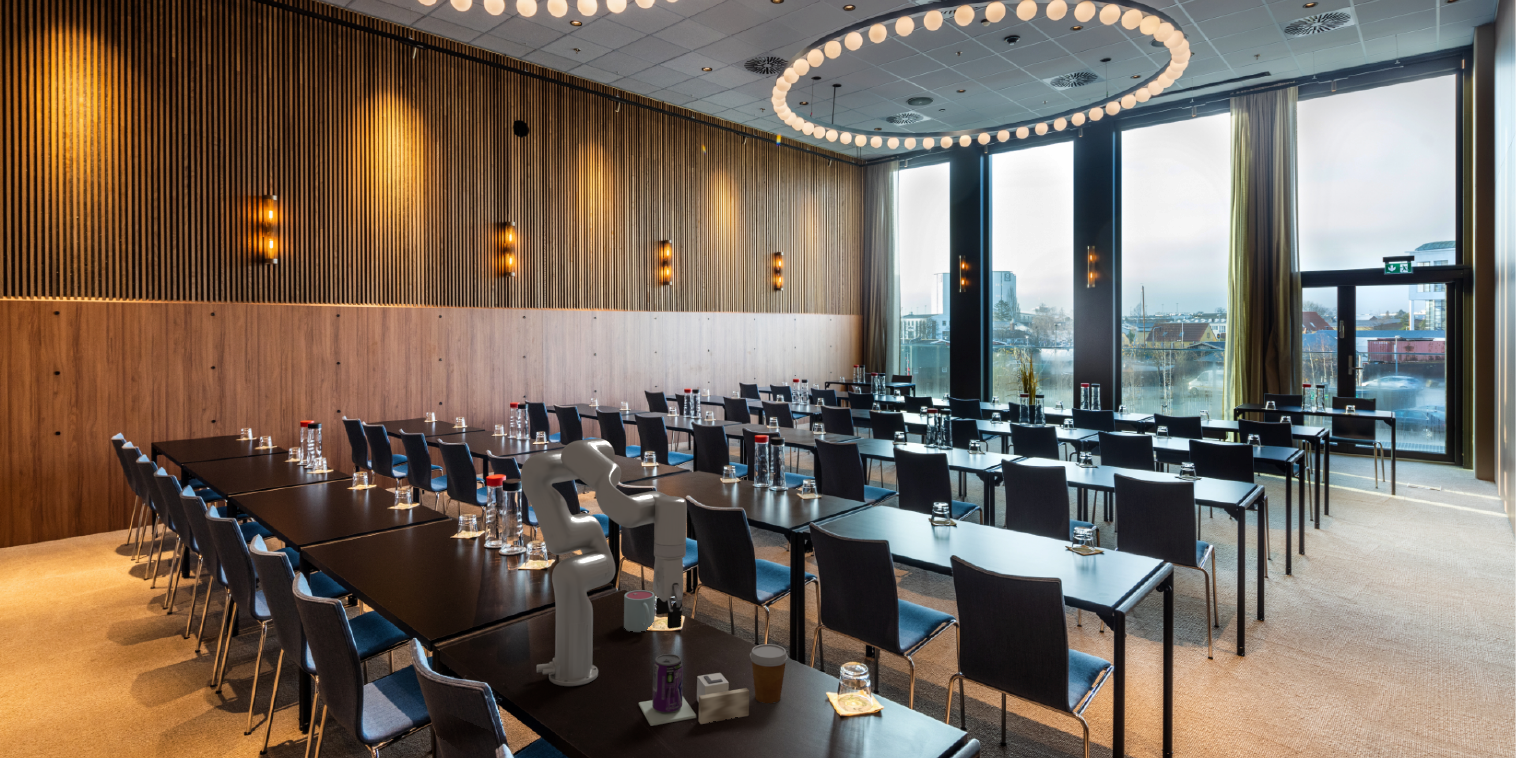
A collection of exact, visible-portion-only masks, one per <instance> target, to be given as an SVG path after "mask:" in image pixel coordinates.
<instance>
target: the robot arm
mask: <svg viewBox="0 0 1516 758" xmlns="http://www.w3.org/2000/svg"><path fill="white" fill-rule="evenodd" d="M615 457H616V454H615V449H614V447H613V445H612V444H611V443H610V442H609V441H607V440H605V439H603V438H590V439H589V438H588V439H582V440H581V439H579V440H574V441H572V442H570V443H568V444H567V445H565V447H563V449H562V450H554V451H546V452H540V453H537V454H534V455H532V456H530V457H528V458H527V459H526V460H525V461H524V463H523V464H522V467H521V469H520V470H521V471H520V483H521V484H520V485H521V488H522V490H523V493H524V495H525V497H526V498H527V500H528V502H529V504H530V506H531V507H532V510H533V513H534V516H535V517H536V518H535V519H536V521H537V523H538V526H539V529H540V532H541V534H542V538H543V540H544V542H545V546H546V547H547V549H548V551H549V552H550V553H551V554H553V555H556V556H562V555H567V554H570V553H573V552H577V551H578V552H579V551H580V552H581V554H576V555H574V556H570V557H566V558H564V559H562V560H561V561H560V562H558V563H556V565H555V566H554V568H553V569H552V573H551V582H552V587H553V591H554V600H555V645H554V646H555V653H554V654H555V655H554V657H553V658H552V661H548V663H542V664H541V663H540V664H539V663H538V664H536V667H535V669H536V673H542V676H543V675H548V679H549V682H551V683H553V684H554V685H558V686H561V687H563V686H564V687H576V686H583V685H586V684H589V683H590V682H592V681H594V680H596V679H597V677H598V676H599V668H598V667H597V666H596V665H594V664H593V654H594V653H593V651H594V649H593V644H594V643H593V640H594V638H593V637H594V636H593V635H594V633H593V632H594V610H593V609H594V608H593V604H592V601H591V600H590V598H589V597H588V594H587V592H589V591H590V590H592V589H593V590H594V589H595V588H600V587H601V586H605V585H608V583H610V582H612V580H613V579H614V577H615V574H616V563H615V560H614V556H613V554H612V552H611V549H610V546H609V543H608V540H607V538H606V536H605V535H606V534H605V532H604V529H603V527H602V525H601V524H600V522H599V520H598V518H596V517H595V516H594V515H592V514H591V513H586V512H585V513H583V512H582V513H577V514H572V512H570V510H569V506H568V503H567V501H566V499H565V497H564V496H563V495H562V494H561V493H560V492H559V491H558V490H557V489H556V488H555V487H553V484H556V483H557V484H558V483H564V482H568V481H574V480H580V481H582V482H583V483H584V484H585V485H587V486H588V487H589V488H591V489H592V490H593V491H595V499H596V502H597V504H598V506H599V509H600V510H601V511H602V513H603V514H604V515H606V517H608V518H609V519H610V520H611V521H613V522H614V523H616V524H617V525H619V526H620V527H624V528H628V529H633V528H637V527H640V526H644V525H649V524H654V531H653V532H654V533H653V534H654V535H653V536H654V537H653V556H654V566H653V579H652V582H653V583H652V590H653V591H652V592H653V593H654V594H655V596H656V600H655V604H656V605H655V613H656V615H665V614H667V620H666V621H667V622H666V623H667V628H668V629H677V628H681V627H682V614H683V613H682V612H683V596H684V563H683V561H684V560H683V558H686V555H687V554H686V553H687V519H688V517H687V513H688V505H687V501H686V499H684V497H681V496H675V495H673V496H672V495H668V494H666V493H664V492H661V491H657V490H652V491H646V492H641V493H636V494H630V495H627V494H625V493H623V492H622V490H621V491H620V490H619V489H618V488H617V486H618V484H619V483H620V480H621V479H622V478H621V477H622V469H621V467H620V466H619V464H618V463H617V462H615Z"/></svg>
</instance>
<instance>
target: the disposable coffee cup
mask: <svg viewBox="0 0 1516 758" xmlns="http://www.w3.org/2000/svg"><path fill="white" fill-rule="evenodd" d="M787 653H788V652H787V650H786V648H784V647H783V646H782V645H781V646H780V645H778V644H772V643H771V644H769V643H763V644H759V645H755V646H754V647H753V648H752V649H751V652H750V653H749V657H750V660H751V668H752V678H753V687H754V688H753V689H754V698H755V700H756V701H757V702H759V703H761V702H763V703H762V704H768V703H770V704H774V703H773V702H776V703H778V702H780V700H781V697H782V690H783V683H784V677H785V669H786V663H787V660H788V658H789V656H788V654H787Z"/></svg>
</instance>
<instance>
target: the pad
mask: <svg viewBox="0 0 1516 758" xmlns="http://www.w3.org/2000/svg"><path fill="white" fill-rule="evenodd" d="M652 702H653V699H652V700H651V699H650V700H646V701H640V702H638V706H639V707H640V709H641V711H642V713H643V715H644V717H645V719H646V721H647V722H648V724H649V725H650V726H658V725H663V724H664V725H665V724H668V723H673V722H674V723H675V722H680V721H685V720H692V719H697V714H696V713H695V711H694V710H693V709H692V707H691V705H690V704H689V703H688V701H687V700H686V699H685V696H684V695H682V707H681V708H680V709H678V710H676V711H674V712H671V713H662V712H659V711H657V710H655V709H654V708H653V706H652Z"/></svg>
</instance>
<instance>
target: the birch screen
mask: <svg viewBox="0 0 1516 758" xmlns="http://www.w3.org/2000/svg"><path fill="white" fill-rule="evenodd" d="M749 709H750V690H749V689H748V687H744V688H739V689H733V690H729V691H725V692H719V693H713V694H707V695H701V696H699V702H698V722H699V724H700V725H703V724H710V723H714V722H713V721H716V722H720V721H726V720H725V719H727V720H732V719H736V718H735V717H738V718H742V717H748V716H749V715H750V711H749ZM731 718H732V719H731ZM709 722H710V723H709Z"/></svg>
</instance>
